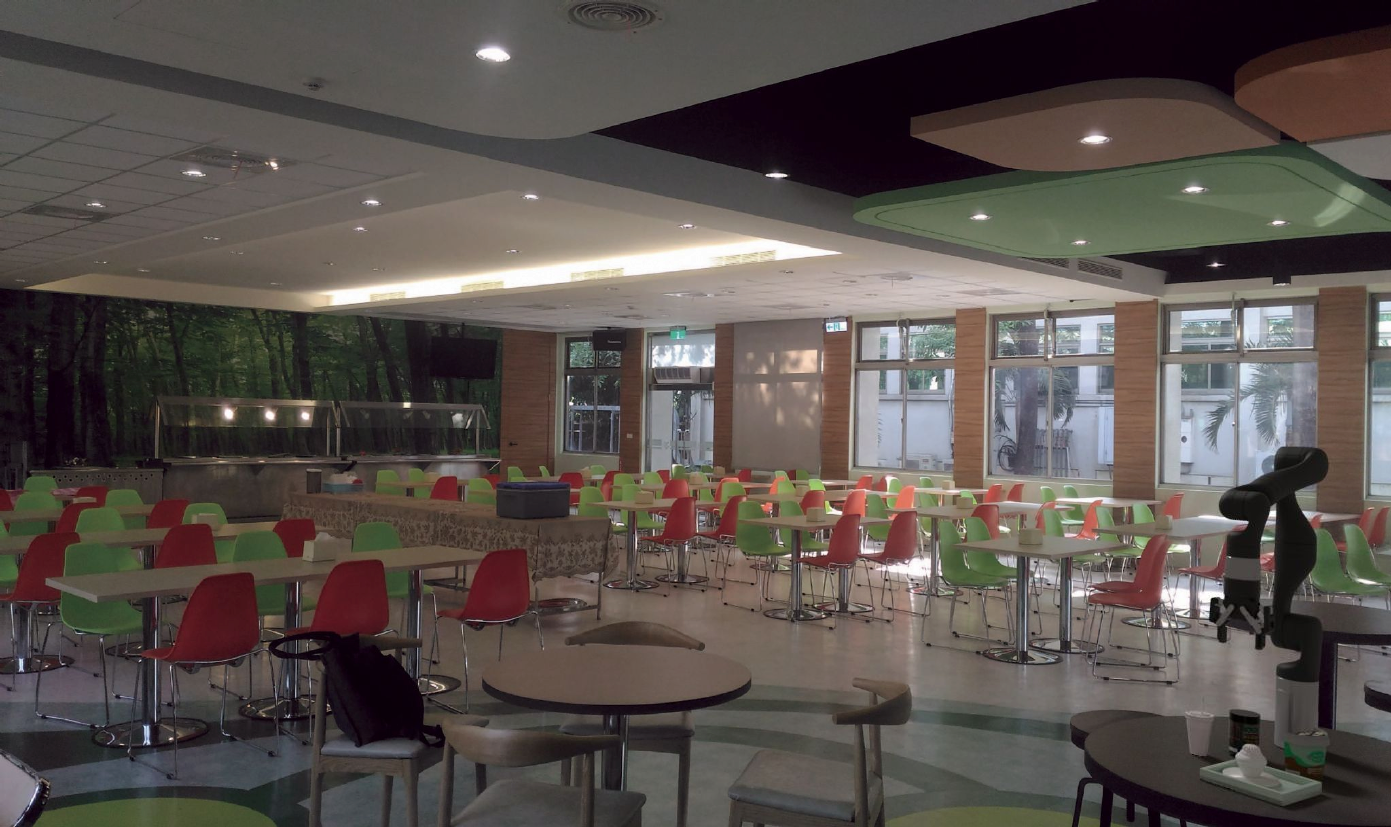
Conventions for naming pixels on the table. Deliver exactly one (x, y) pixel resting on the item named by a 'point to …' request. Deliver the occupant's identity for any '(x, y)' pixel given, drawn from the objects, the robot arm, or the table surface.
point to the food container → (1306, 753)
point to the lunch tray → (1263, 783)
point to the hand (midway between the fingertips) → (1240, 646)
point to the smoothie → (1199, 730)
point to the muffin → (1251, 761)
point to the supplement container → (1243, 730)
